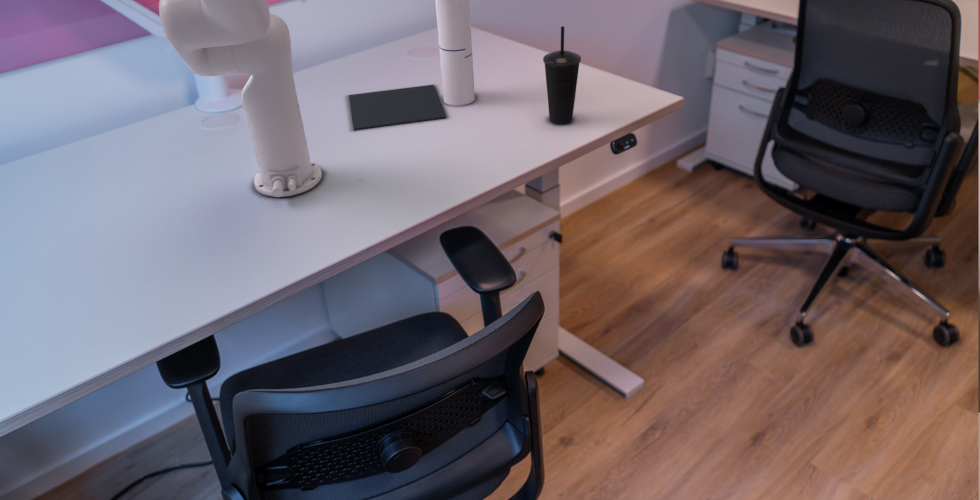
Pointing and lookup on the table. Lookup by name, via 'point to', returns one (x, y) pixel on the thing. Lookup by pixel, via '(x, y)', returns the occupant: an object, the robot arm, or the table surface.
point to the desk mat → (395, 107)
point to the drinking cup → (561, 83)
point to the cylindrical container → (455, 51)
